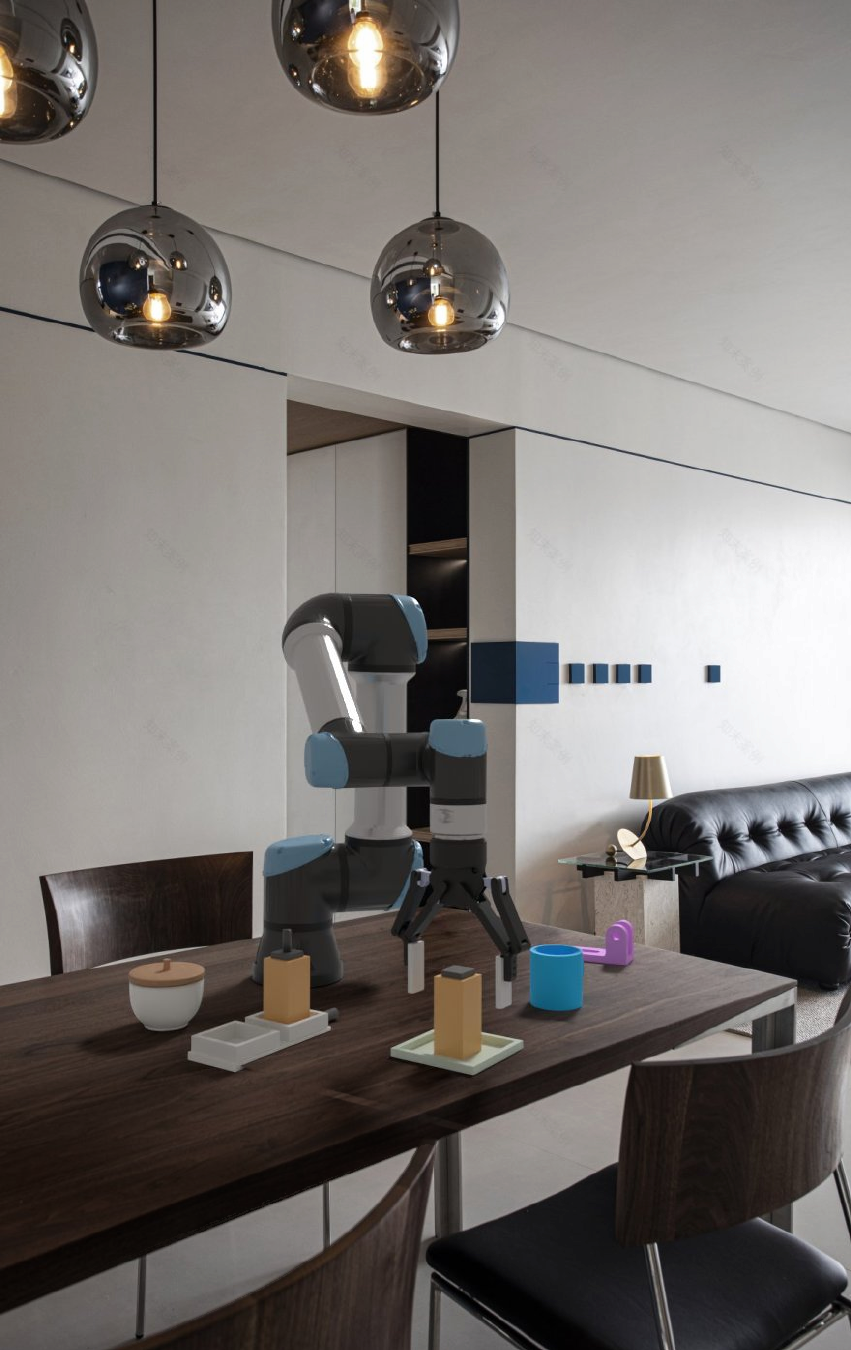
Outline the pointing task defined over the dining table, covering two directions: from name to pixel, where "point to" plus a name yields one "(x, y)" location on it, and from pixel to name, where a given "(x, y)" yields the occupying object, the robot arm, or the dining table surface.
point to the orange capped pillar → (457, 1012)
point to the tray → (423, 1052)
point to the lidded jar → (166, 994)
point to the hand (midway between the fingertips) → (458, 998)
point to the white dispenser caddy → (267, 1016)
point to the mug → (556, 977)
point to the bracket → (613, 946)
